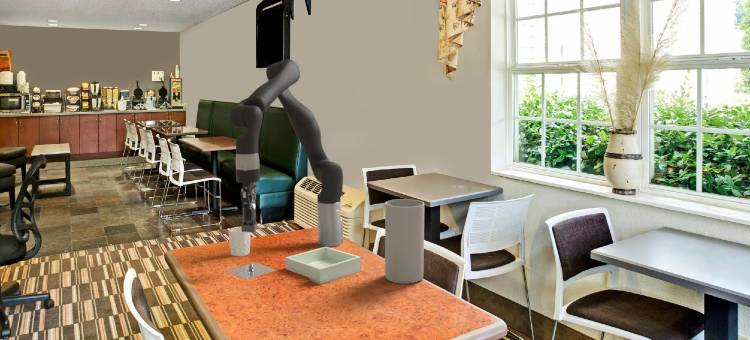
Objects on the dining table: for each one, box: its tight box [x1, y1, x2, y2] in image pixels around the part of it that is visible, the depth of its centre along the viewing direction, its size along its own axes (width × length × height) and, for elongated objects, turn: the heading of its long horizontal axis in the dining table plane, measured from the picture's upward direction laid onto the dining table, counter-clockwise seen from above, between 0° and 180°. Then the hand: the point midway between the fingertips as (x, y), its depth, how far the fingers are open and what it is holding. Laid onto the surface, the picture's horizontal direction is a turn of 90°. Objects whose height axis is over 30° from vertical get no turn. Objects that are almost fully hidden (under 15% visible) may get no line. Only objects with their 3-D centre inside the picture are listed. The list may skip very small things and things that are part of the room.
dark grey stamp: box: [241, 202, 258, 233], centre depth 177 cm, size 4×4×9 cm
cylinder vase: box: [384, 198, 425, 285], centre depth 174 cm, size 12×12×25 cm
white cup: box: [228, 226, 252, 257], centre depth 199 cm, size 8×8×10 cm
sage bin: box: [284, 246, 362, 286], centre depth 182 cm, size 18×18×5 cm
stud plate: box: [226, 262, 277, 280], centre depth 180 cm, size 12×12×3 cm
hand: (249, 218), depth 177 cm, fingers closed on dark grey stamp, 4 cm apart
